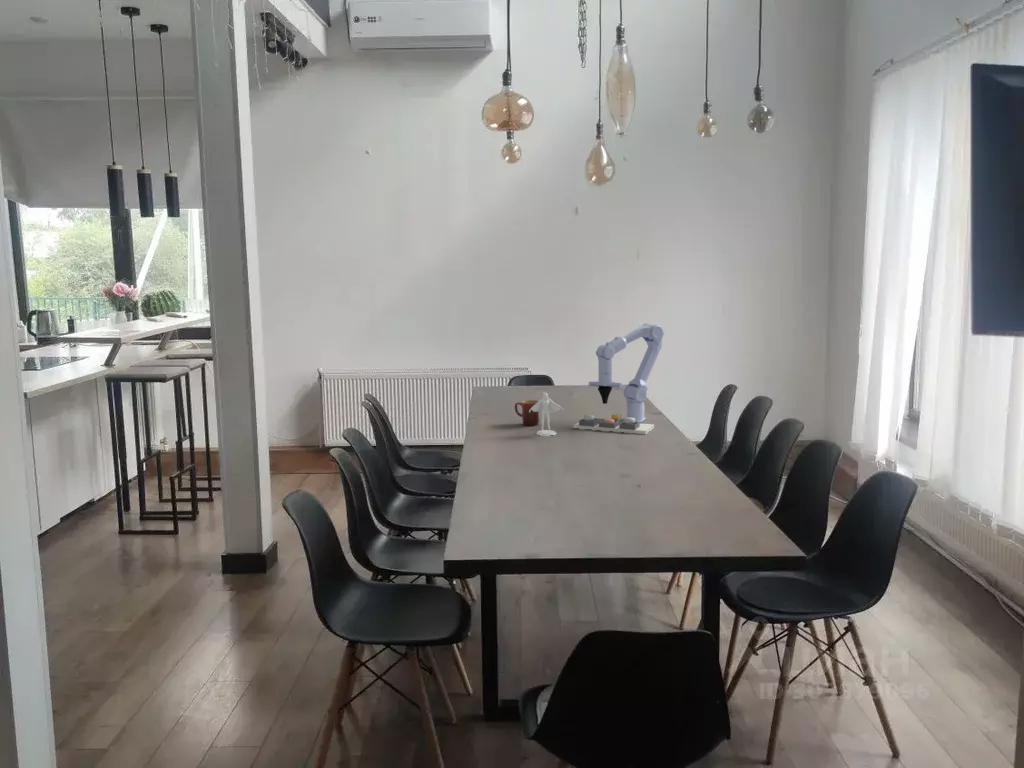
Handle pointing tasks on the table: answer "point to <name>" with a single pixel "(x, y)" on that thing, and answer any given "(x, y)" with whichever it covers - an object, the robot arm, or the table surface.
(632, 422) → the grey button
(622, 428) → the panel
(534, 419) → the mug
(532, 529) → the table surface
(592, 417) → the grey button
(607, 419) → the terracotta button
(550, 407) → the figurine
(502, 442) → the table surface
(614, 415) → the brass slider
